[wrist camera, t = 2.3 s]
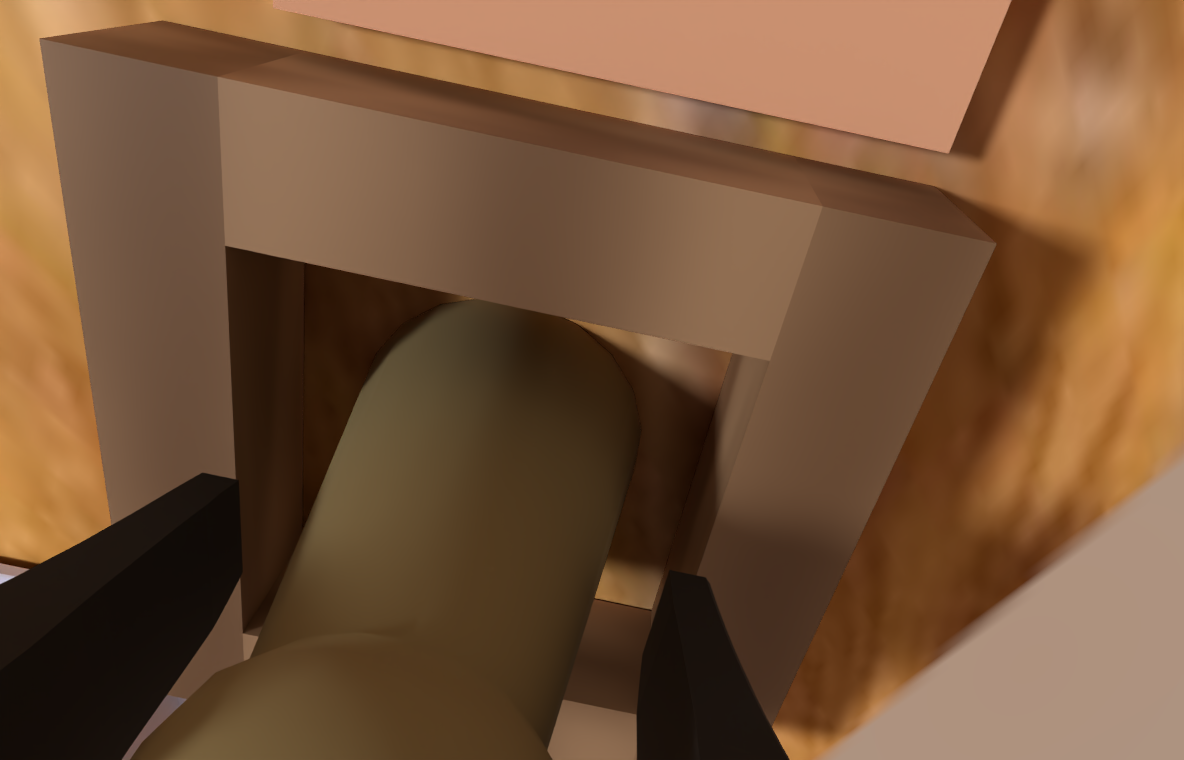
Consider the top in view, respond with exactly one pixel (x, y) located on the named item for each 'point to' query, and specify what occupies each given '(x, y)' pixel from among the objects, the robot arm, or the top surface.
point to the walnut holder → (501, 275)
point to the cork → (438, 555)
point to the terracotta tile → (733, 51)
